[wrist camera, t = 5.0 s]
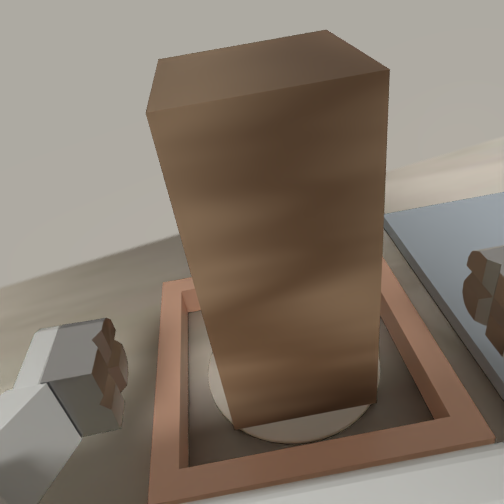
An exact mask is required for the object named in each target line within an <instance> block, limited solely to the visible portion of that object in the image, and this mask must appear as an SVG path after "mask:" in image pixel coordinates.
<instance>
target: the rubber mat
mask: <svg viewBox="0 0 504 504" xmlns="http://www.w3.org/2000/svg"><path fill="white" fill-rule="evenodd" d="M384 228H385V230H386V231H387V233H388V234H389V236H390V237H391V238H392V240H393V241H394V243H395V244H396V246H397V247H398V249H399V250H400V251H401V253H402V254H403V256H404V257H405V259H406V260H407V262H408V263H409V264H410V266H411V267H412V269H413V270H414V272H415V273H416V275H417V276H418V277H419V279H420V280H421V282H422V283H423V285H424V286H425V288H426V289H427V290H428V292H429V293H430V295H431V296H432V298H433V299H434V301H435V302H436V303H437V305H438V306H439V308H440V309H441V311H442V312H443V314H444V315H445V316H446V318H447V319H448V321H449V322H450V324H451V325H452V327H453V328H454V329H455V331H456V332H457V334H458V335H459V337H460V338H461V340H462V341H463V342H464V344H465V345H466V347H467V348H468V350H469V351H470V353H471V354H472V355H473V357H474V358H475V360H476V361H477V363H478V364H479V366H480V367H481V368H482V370H483V371H484V373H485V374H486V376H487V377H488V379H489V380H490V381H491V383H492V384H493V386H494V387H495V389H496V390H497V392H498V393H499V394H500V396H501V397H502V399H503V400H504V357H502V356H501V355H500V354H499V352H498V351H497V350H496V348H495V347H494V346H493V345H492V343H491V342H490V341H489V339H488V338H487V337H486V335H485V332H486V326H485V325H483V324H481V323H478V322H476V321H474V320H473V318H472V317H471V315H470V314H469V313H468V311H467V309H466V306H465V304H464V299H463V294H462V290H463V283H464V280H465V279H466V278H467V277H468V276H469V275H470V273H471V270H470V269H469V268H468V267H467V261H468V256H469V255H470V253H471V252H472V251H474V250H479V249H484V248H490V247H495V246H500V245H504V192H501V193H496V194H490V195H485V196H480V197H474V198H469V199H463V200H458V201H452V202H447V203H442V204H436V205H431V206H425V207H420V208H415V209H409V210H404V211H398V212H393V213H387V214H384Z"/></svg>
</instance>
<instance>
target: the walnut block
mask: <svg viewBox="0 0 504 504" xmlns="http://www.w3.org/2000/svg"><path fill="white" fill-rule="evenodd" d="M389 75H390V69H388V68H387V67H385V66H383V65H382V64H380V63H379V62H377V61H375V60H374V59H372V58H371V57H369V56H367V55H366V54H365V53H363V52H361V51H360V50H358V49H357V48H355V47H353V46H352V45H350V44H348V43H347V42H345V41H344V40H342V39H340V38H339V37H337V36H336V35H334V34H333V33H331V32H329V31H328V30H322V31H316V32H311V33H305V34H299V35H293V36H288V37H282V38H277V39H271V40H265V41H259V42H254V43H248V44H243V45H237V46H231V47H226V48H220V49H214V50H209V51H203V52H197V53H192V54H186V55H181V56H175V57H169V58H163V59H158V64H157V68H156V72H155V76H154V80H153V84H152V89H151V93H150V97H149V101H148V105H147V110H146V116H147V119H148V123H149V126H150V130H151V133H152V137H153V140H154V144H155V148H156V151H157V155H158V158H159V162H160V166H161V169H162V172H163V176H164V180H165V183H166V187H167V190H168V194H169V198H170V201H171V204H172V208H173V212H174V215H175V219H176V223H177V226H178V230H179V233H180V237H181V240H182V244H183V247H184V251H185V255H186V258H187V262H188V265H189V269H190V272H191V276H192V280H193V283H194V287H195V290H196V294H197V297H198V301H199V304H200V308H201V312H202V315H203V319H204V322H205V326H206V329H207V333H208V337H209V340H210V344H211V347H212V351H213V354H214V358H215V361H216V365H217V369H218V372H219V376H220V379H221V383H222V386H223V390H224V394H225V397H226V401H227V404H228V408H229V411H230V415H231V418H232V422H233V426H234V429H235V430H238V429H243V428H248V427H253V426H258V425H264V424H269V423H274V422H279V421H284V420H289V419H295V418H300V417H305V416H310V415H315V414H321V413H326V412H331V411H336V410H341V409H347V408H352V407H357V406H362V405H367V404H373V403H377V380H378V354H379V329H380V304H381V278H382V253H383V228H384V202H385V177H386V150H387V126H388V125H387V124H388V101H389V99H388V98H389Z"/></svg>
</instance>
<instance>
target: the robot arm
mask: <svg viewBox="0 0 504 504" xmlns="http://www.w3.org/2000/svg"><path fill="white" fill-rule="evenodd" d="M467 267H468V268H469V269H470V270H471V273H470V275H469V276H468V277H467V278H466V279H465V280H464V283H463V290H462V294H463V299H464V304H465V306H466V309H467V311H468V313H469V314H470V315H471V317H472V318H473V320H474V321H476V322H478V323H481V324H483V325H485V326H486V332H485V335H486V337H487V338H488V339H489V341H490V342H491V343H492V345H493V346H494V347H495V348H496V350H497V351H498V352H499V354H500V355H501V356H502V357H504V245H500V246H495V247H490V248H484V249H479V250H474V251H472V252H471V253H470V255H469V256H468V261H467ZM115 331H116V330H115V328H114V326H113V324H112V322H111V320H110V319H108V318H102V319H96V320H90V321H84V322H77V323H71V324H65V325H62V326H55V327H49V328H43V329H39V330H38V331H37V332H36V333H35V334H34V336H33V339H32V341H31V344H30V346H29V349H28V351H27V354H26V356H25V359H24V361H23V364H22V366H21V369H20V371H19V374H18V377H17V379H16V382H15V384H14V387H13V389H12V390H7V391H4V392H3V393H2V394H1V395H0V504H38V503H39V501H40V500H41V498H42V497H43V495H44V494H45V492H46V491H47V490H48V488H49V487H50V485H51V484H52V482H53V481H54V479H55V478H56V477H57V475H58V474H59V472H60V471H61V469H62V468H63V466H64V465H65V464H66V462H67V461H68V459H69V458H70V456H71V455H72V453H73V452H74V451H75V449H76V448H77V446H78V445H79V443H80V442H81V440H82V438H81V437H86V436H90V435H95V434H99V433H104V432H109V431H113V430H118V429H121V426H122V419H123V412H124V405H125V401H124V399H123V397H122V395H121V392H122V391H123V390H124V388H125V387H126V386H127V383H128V361H127V357H126V353H125V350H124V348H123V346H122V344H121V343H119V342H117V341H116V340H114V337H115ZM181 504H504V442H499V443H494V444H489V445H483V446H478V447H473V448H468V449H463V450H457V451H452V452H447V453H442V454H437V455H431V456H426V457H421V458H416V459H411V460H405V461H400V462H395V463H390V464H385V465H379V466H374V467H369V468H364V469H359V470H353V471H348V472H343V473H338V474H332V475H327V476H322V477H317V478H312V479H306V480H301V481H296V482H291V483H285V484H280V485H275V486H270V487H265V488H259V489H254V490H249V491H244V492H238V493H233V494H228V495H223V496H218V497H212V498H207V499H202V500H197V501H191V502H186V503H181Z"/></svg>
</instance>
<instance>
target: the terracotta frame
mask: <svg viewBox="0 0 504 504" xmlns="http://www.w3.org/2000/svg"><path fill="white" fill-rule="evenodd" d="M199 310H201V308H200V304H199V301H198V297H197V294H196V290H195V287H194V283H193V280H192V277H190V278H184V279H179V280H174V281H168V282H163V287H162V302H161V316H160V331H159V345H158V360H157V374H156V389H155V403H154V418H153V432H152V447H151V461H150V476H149V490H148V504H181V503H186V502H191V501H197V500H202V499H207V498H212V497H218V496H223V495H228V494H233V493H238V492H244V491H249V490H254V489H259V488H265V487H270V486H275V485H280V484H285V483H291V482H296V481H301V480H306V479H312V478H317V477H322V476H327V475H332V474H338V473H343V472H348V471H353V470H359V469H364V468H369V467H374V466H379V465H385V464H390V463H395V462H400V461H405V460H411V459H416V458H421V457H426V456H431V455H437V454H442V453H447V452H452V451H457V450H463V449H468V448H473V447H478V446H483V445H489V444H494V441H495V438H496V437H495V436H494V434H493V432H492V431H491V429H490V428H489V426H488V424H487V423H486V421H485V420H484V418H483V416H482V415H481V413H480V412H479V410H478V408H477V407H476V405H475V403H474V402H473V400H472V399H471V397H470V395H469V394H468V392H467V391H466V389H465V387H464V386H463V384H462V383H461V381H460V379H459V378H458V376H457V375H456V373H455V371H454V370H453V368H452V367H451V365H450V363H449V362H448V360H447V359H446V357H445V355H444V354H443V352H442V351H441V349H440V347H439V346H438V344H437V343H436V341H435V339H434V338H433V336H432V335H431V333H430V331H429V330H428V328H427V327H426V325H425V323H424V322H423V320H422V319H421V317H420V315H419V314H418V312H417V311H416V309H415V307H414V306H413V304H412V303H411V301H410V299H409V298H408V296H407V295H406V293H405V291H404V290H403V288H402V287H401V285H400V283H399V282H398V280H397V279H396V277H395V275H394V274H393V272H392V271H391V269H390V267H389V266H388V264H387V263H386V261H385V259H384V258H383V256H382V278H381V304H380V316H381V318H382V320H383V322H384V324H385V325H386V327H387V329H388V331H389V333H390V335H391V337H392V339H393V341H394V343H395V345H396V347H397V349H398V351H399V352H400V354H401V356H402V358H403V360H404V362H405V364H406V366H407V368H408V370H409V372H410V374H411V376H412V377H413V379H414V381H415V383H416V385H417V387H418V389H419V391H420V393H421V395H422V397H423V399H424V401H425V402H426V404H427V406H428V408H429V410H430V412H431V414H432V416H433V418H434V420H430V421H425V422H419V423H414V424H409V425H404V426H399V427H394V428H388V429H383V430H378V431H373V432H368V433H363V434H357V435H352V436H347V437H342V438H337V439H332V440H327V441H321V442H316V443H311V444H306V445H301V446H296V447H290V448H285V449H280V450H275V451H270V452H265V453H259V454H254V455H249V456H244V457H239V458H234V459H228V460H223V461H218V462H213V463H208V464H203V465H197V466H192V467H189V439H188V312H194V311H199ZM208 380H209V387H210V390H211V393H212V396H213V399H214V401H215V403H216V405H217V407H218V408H219V410H220V411H221V413H222V414H223V415H224V416H225V417H226V418H227V419H228V420H229V421H230V422H231V423H232V424H233V422H232V418H231V415H230V411H229V408H228V404H227V401H226V397H225V394H224V390H223V386H222V383H221V379H220V376H219V372H218V369H217V365H216V361H215V358H214V354H213V352H212V355H211V358H210V362H209V367H208ZM379 381H380V359H379V354H378V380H377V389H378V386H379ZM370 405H371V404H367V405H362V406H357V407H352V408H347V409H341V410H336V411H331V412H326V413H321V414H315V415H310V416H305V417H300V418H295V419H289V420H284V421H279V422H274V423H269V424H264V425H258V426H253V427H248V428H243V429H240V430H242V431H243V432H245V433H247V434H249V435H251V436H254V437H256V438H259V439H262V440H266V441H270V442H275V443H284V444H300V443H308V442H314V441H317V440H321V439H325V438H327V437H330V436H332V435H335V434H337V433H339V432H341V431H342V430H344V429H346V428H348V427H349V426H350V425H352V424H353V423H354V422H356V421H357V420H358V419H359V418H360V417H361V416H362V415H363V414H364V413H365V411H366V410H367V409H368V407H369V406H370Z"/></svg>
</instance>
